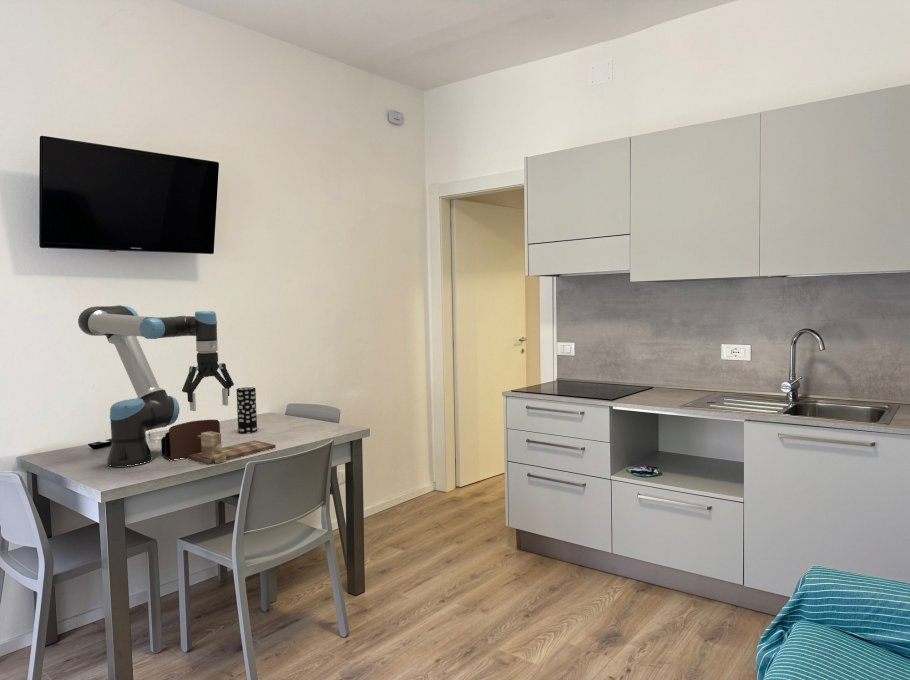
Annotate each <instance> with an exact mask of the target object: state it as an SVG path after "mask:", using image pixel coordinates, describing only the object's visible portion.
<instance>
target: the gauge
mask: <svg viewBox="0 0 910 680" xmlns="http://www.w3.org/2000/svg"><path fill="white" fill-rule="evenodd" d="M197 438H198V439H201V447H202V456H203V457H206V458H210V459H214V460H215V463H214V464H220V463H224V462H226V461H227V460H226V454H224V453H222V448H223V447H222V433H221V432H220V433H216V432H212V431H209V432H204V433H201V435H198V436H197Z"/></svg>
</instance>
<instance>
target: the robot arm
mask: <svg viewBox="0 0 910 680" xmlns="http://www.w3.org/2000/svg"><path fill="white" fill-rule="evenodd" d="M77 324H78V327H79V328H80V330H81V331H82V333H84V334H86V335H89V336H95V337H96V336H97V337H98V336H99V337H100V336H105V338H106V339H107V342H108V343H109V344H111V345H113V346H114V347H115V349H116V351H117V353H118V356H119V358H120V360H121V362H122V364H123V367H124V370H125V372H126V374H127V376H128V378H129V380H130V383H131V385H132V388H133V389H134V391H135V394H136V396H137V398H129V399H124V400H121V401H117V402H115V403H113V404H112V405H111V407H110V409H109V410H110V411H109V419H110V433H111V445H110V449H109V452H108V456H107V459H106V460H107V466H108V465H111V466H127V465H135V464H140V463H144V462H148V461H150V460H151V459H152V460H153V454H152V451H151V449H150V446H149V445H148V441H147V434H146V432H147V431H152V430H156V429H160V428H161V429H162V428H166V427H168V426H171V425H174V424H175V422H176V421H177V420H178V418H179V415H180V404H179V402H178V400H177V399H176V397H174V396H172V395H168V394H167V391H166V389H163V388H161V387H160V386H159V383H158V381H157V379H156V377H155V375H154V373H153V370H152V367H151V366H150V363H149V361H148V359H147V357H146V355H145V352H144V350H143V348H142V346H141V344H140V342H139V339H138V337H143V338H144V339H147V340H158V339H165V338H178V337H192V336H193V337H195V347H196V349H195V351H196V363H197V365H196V366H191V365H190V366H189V369H188V370H189V371H188V374H187V376H186V379H185V382H184V384H183V386H182V389H181V392H182V393H185V394H187V402H188V403H189V411H192V412H196V411H197V405H196V403H197V402H196V393H195V391H196V389H197V388H198V386H199V384H200V383H201V381H202V380H203V379H204V378H209V377H214V378H215V379H216V380H217V381H218V382H219V384H221V386H222V388H221V399H222V400H221V403H222V404H221V405H222V406H229V397H230V389H231V388H232V387H234V385H235V383H234V381H233V379H232V377H231V375H230V373H229V372H228V370H227V365H226V363H224V362H220V363H219V354H218V353H219V352H217V351H218V350H219V349H218V329H217V328H218V320H217V314H216V312H215V311H214V310H201V311H200V310H198V311H195V313H194V316H190V315H189V316H188V315H187V316H186V315H177V316H168V317H155V316H142V315H139V314H138V312H137V310H135V309H134V308H133V307H131V306H127V305H122V304H121V305H120V304H118V305H112V306H111V305H109V306H107V305H105V306H91V307H87V308H86V309H84V310H83V311H81V313H80V314H79V316H78V319H77ZM197 371H198V372H197ZM219 371H220V372H221V373H220V372H219ZM221 374H222V375H221ZM152 460H151V461H152ZM151 461H150V462H151ZM148 463H149V462H148ZM111 466H110V467H111Z"/></svg>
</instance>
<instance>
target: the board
mask: <svg viewBox="0 0 910 680" xmlns="http://www.w3.org/2000/svg"><path fill="white" fill-rule="evenodd" d="M273 448H275V449H277V448H276V444H274V443H269V442H265V441H259V440H254V439H253V440H249V441H246V442H241V443H236V444H233V445H227V446H224V447H222V453H224V454H226V461H229V459H230V460H235V459H238V458H241V456H243V457H246V456H245V455H247V456H250V455H249V454H251V455H254V454H253V453H255V454H258V453H257V452H259V453H262V452H261V451H263V452H266V451H265V450H267V451H269V449H271V450H274V449H273ZM188 457H189V458H188V460H189V459H191V460H190V461H193V460H194V462H197V461H198V463H201V462H202V463H201V464H205V463H206V464H205V465H209V464H210V465H214V464H216V463H215V460H214V459H210V458H206V457H203V456H202V452H201V453H197V454H193V455H188ZM213 463H214V464H213Z"/></svg>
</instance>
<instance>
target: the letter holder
mask: <svg viewBox="0 0 910 680" xmlns="http://www.w3.org/2000/svg"><path fill="white" fill-rule="evenodd" d="M209 431H212V432H216V433H221V423H220V421H219V420H218V419H200V420H192V421H186V422H182V423H180V424H179V423H178V424H175V425H172V426H170V427H169V428H168V432H166V433H165V434H164V436H162V437H161V440H160V443H161V445H160V446H161V457H162V456H164V457H166V458H168V459H170V460H174V459H180V458H185V459H188V458H187V457H188V455H193V454H197V453H201V452H202V447H201V439H198V438H197V436H198V435H201V433H204V432H209ZM164 457H163V458H164ZM166 458H165V459H166ZM168 459H167V460H168ZM170 460H169V461H170ZM180 460H181V459H180Z"/></svg>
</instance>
